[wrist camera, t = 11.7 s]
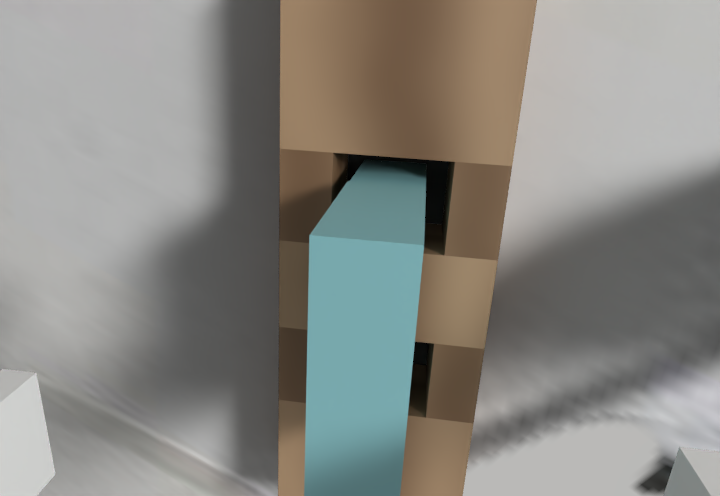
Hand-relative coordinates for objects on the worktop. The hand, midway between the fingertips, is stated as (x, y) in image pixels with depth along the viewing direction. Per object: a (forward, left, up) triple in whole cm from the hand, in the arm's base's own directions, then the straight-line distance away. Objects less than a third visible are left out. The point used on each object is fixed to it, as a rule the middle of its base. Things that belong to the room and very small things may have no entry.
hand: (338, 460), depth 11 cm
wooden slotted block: (0, 0, -13) cm, 13 cm away
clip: (0, 0, -13) cm, 13 cm away
